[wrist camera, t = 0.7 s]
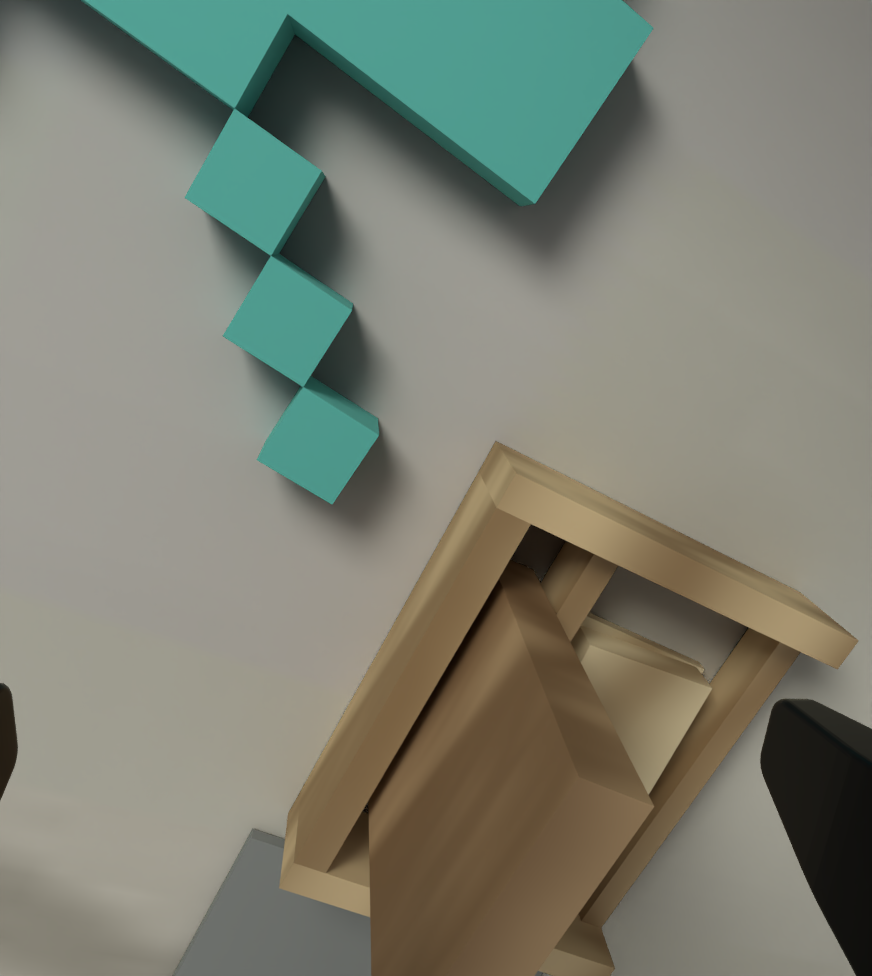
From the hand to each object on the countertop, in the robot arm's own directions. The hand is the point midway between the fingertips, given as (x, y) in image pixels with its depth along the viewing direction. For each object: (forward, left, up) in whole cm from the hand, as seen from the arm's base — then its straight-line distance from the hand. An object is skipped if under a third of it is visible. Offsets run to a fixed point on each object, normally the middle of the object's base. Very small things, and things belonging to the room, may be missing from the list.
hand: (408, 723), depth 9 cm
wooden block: (-5, +6, -13) cm, 15 cm away
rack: (-8, +6, -13) cm, 16 cm away
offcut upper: (-10, +6, -13) cm, 17 cm away
